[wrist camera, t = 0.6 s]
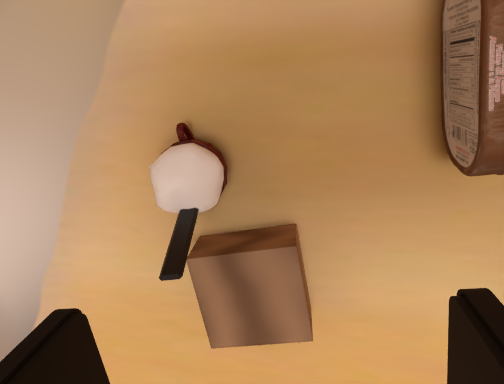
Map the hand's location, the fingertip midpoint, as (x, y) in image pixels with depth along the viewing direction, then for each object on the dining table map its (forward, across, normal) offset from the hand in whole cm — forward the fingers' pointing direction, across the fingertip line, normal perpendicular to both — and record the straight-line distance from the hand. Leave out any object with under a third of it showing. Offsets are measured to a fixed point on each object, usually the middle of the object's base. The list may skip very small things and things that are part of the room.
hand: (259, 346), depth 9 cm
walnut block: (+25, +5, +13) cm, 28 cm away
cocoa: (+25, +9, +1) cm, 26 cm away
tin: (+25, -14, -5) cm, 29 cm away
